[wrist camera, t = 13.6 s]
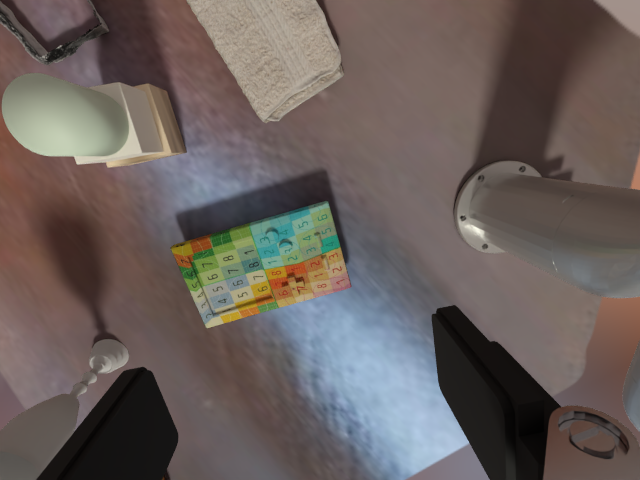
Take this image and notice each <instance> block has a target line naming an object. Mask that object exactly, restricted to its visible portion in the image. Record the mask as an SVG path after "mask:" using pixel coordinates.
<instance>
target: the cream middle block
mask: <svg viewBox="0 0 640 480" xmlns="http://www.w3.org/2000/svg"><path fill="white" fill-rule="evenodd" d="M88 88H89V89H92V90H95V91H98V92H101V93H104V94H106V95H108V96H110V97H111V98H113V99H114V100H115V101H116V102H117V103H118V104H119V105H120V106H121V108H122V109H123V110H124V112H125V114H126V117H127V120H128V124H129V134H128V139H127V141H126V143H125V145H124V146H123V147H122V149H121V150H119V151H118V152H116V153H115V154H112V155H109V156H74V158H75V160H76V163H77V164H89V163H102V162H111V161H116V160H122V159H128V158H133V157H139V156H144V155H150V154H155V153H161V152H164V151H163V148H162V144H161V141H160V138H159V135H158V131H157V128H156V125H155V121H154V118H153V115H152V112H151V108H150V105H149V102H148V99H147V95H146V92H145V91H142V90H140V89H137V88H134V87H131V86H129V85H126V84H123V83H121V82H116V83H110V84H105V85H99V86H93V87H88Z"/></svg>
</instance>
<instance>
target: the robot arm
mask: <svg viewBox="0 0 640 480" xmlns="http://www.w3.org/2000/svg"><path fill="white" fill-rule="evenodd" d="M478 177H479V179H478ZM460 217H461V218H460ZM454 220H455V225H456V228H457V230H458V233H459V235H460V236H461V237H462V239H463V240H464V241H465V242H466V243H467V244H469V245H470V246H472V247H473V248H475V249H477V250H479V251H482V252H486V253H503V252H508V253H510V254H512V255H514V256H516V257H518V258H520V259H522V260H524V261H525V262H527V263H529V264H531V265H533V266H535V267H537V268H539V269H541V270H543V271H545V272H547V273H549V274H551V275H553V276H555V277H557V278H559V279H561V280H563V281H565V282H567V283H569V284H571V285H573V286H575V287H577V288H579V289H581V290H583V291H586V292H588V293H591V294H594V295H598V296H602V297H611V298H631V297H639V296H640V190H636V189H628V188H618V187H610V186H603V185H595V184H588V183H580V182H573V181H565V180H558V179H550V178H543V177H542V176H541V175H540V173H539V172H537V171H536V170H535V169H534V168H533V167H531V166H530V165H528V164H525V163H522V162H519V161H498V162H494V163H491V164H489V165H486V166H484V167H482V168H481V169H479V170H478V171H476V172H475V173H474V174H473V175H472V176H471V177H470V178H469V179H468V180H467V181H466V182H465V184H464V185H463V187H462V188H461V190H460V192H459V194H458V197H457V200H456V203H455V209H454ZM432 326H433V335H434V345H435V354H436V364H437V373H438V382H439V386H440V389H441V392H442V394H443V396H444V397H445V399H446V401H447V403H448V405H449V407H450V408H451V410H452V412H453V414H454V416H455V417H456V419H457V421H458V423H459V425H460V426H461V428H462V430H463V432H464V434H465V436H466V437H467V439H468V441H469V443H470V445H471V446H472V448H473V450H474V452H475V454H476V455H477V457H478V459H479V461H480V463H481V464H482V466H483V468H484V470H485V472H486V474H487V475H488V477H489V479H490V480H640V446H639V444H638V441H637V439H636V437H635V436H634V435H633V434H632V432H631V431H630V430H629V429H628V428H627V427H625V426H624V425H623V424H622V423H621V422H619V421H618V420H617V419H615V418H613V417H611V416H609V415H607V414H606V413H603V412H601V411H598V410H595V409H593V408H589V407H583V406H564V407H561V406H560V405H559V404H558V403H557V402H556V401H555V400H554V399H553V398H552V397H551V396H550V395H549V394H548V393H547V392H546V391H545V390H544V389H543V388H542V387H541V386H540V385H539V384H538V383H537V382H536V381H535V380H534V379H533V378H532V377H531V375H530V374H529V373H528V372H527V371H526V370H525V369H524V368H523V367H522V366H521V365H520V364H519V363H518V362H517V361H516V360H515V359H514V358H513V357H512V356H511V355H510V354H509V353H508V352H507V351H506V350H505V349H504V348H503V347H502V346H501V345H500V344H499V343H498V342H495V341H492V342H490V341H489V340H488V339H487V338H486V337H485V336H484V335H483V334H482V333H481V332H480V331H479V330H478V329H477V328H476V326H475V325H474V324H473V323H472V322H471V321H470V320H469V319H468V318H467V317H466V316H465V315H464V314H463V313H462V312H461V310H460V309H459V308H458V307H457V306H455V305H453V306H448V307H443V308H438V309H437V311H436V314H432ZM623 404H624V408H625V411H626V413H627V415H628V417H629V419H630V420H631V422H632V423H633V425H634V426H635V427H636V428H637V429H638V431H639V432H640V341H639V343H638V346H637V349H636V351H635V354H634V357H633V359H632V362H631V365H630V367H629V370H628V373H627V376H626V379H625V383H624V386H623ZM177 443H178V432H177V429H176V427H175V425H174V422H173V420H172V418H171V415H170V413H169V411H168V408H167V406H166V403H165V401H164V399H163V396H162V394H161V392H160V389H159V387H158V385H157V382H156V380H155V377H154V375H153V373H152V372H151V371H149V370H147V369H146V368H145V367H140V368H135V369H130V370H126V371H123V372H122V373H121V375H120V376H119V377H118V378H117V380H116V381H115V382H114V383H113V384H112V386H111V387H110V388H109V389H108V391H107V392H106V393H105V394H104V396H103V397H102V398H101V399H100V401H99V402H98V403H97V404H96V406H95V407H94V408H93V409H92V411H91V412H90V413H89V414H88V416H87V417H86V418H85V419H84V421H83V422H82V423H81V424H80V426H79V427H78V428H77V429H76V431H75V432H74V433H73V434H72V435H71V437H70V438H69V439H68V440H67V442H66V443H65V444H64V445H63V447H62V448H61V449H60V450H59V452H58V453H57V454H56V455H55V457H54V458H53V459H52V460H51V462H50V463H49V464H48V465H47V467H46V468H45V469H44V470H43V472H42V473H41V474H40V475H39V477H38V478H37V479H36V480H162V479H163V477H164V474H165V472H166V470H167V467H168V465H169V463H170V460H171V458H172V456H173V453H174V451H175V449H176V446H177Z"/></svg>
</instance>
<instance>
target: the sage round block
mask: <svg viewBox="0 0 640 480" xmlns="http://www.w3.org/2000/svg"><path fill="white" fill-rule="evenodd" d="M2 113H3V118H4V121H5V123H6V125H7V127H8V129H9V131H10V132H11V134H12V135H13V136H14V138H15V139H16V140H17V141H18V142H19V143H20V144H22V145H23V146H24V147H26V148H27V149H29V150H31V151H33V152H35V153H38V154H41V155H45V156H109V155H112V154H115V153H116V152H118V151H119V150H121V149H122V147H123V146H124V145H125V143H126V141H127V139H128V134H129V124H128V120H127V117H126V114H125V112H124V110H123V109H122V108H121V106H120V105H119V104H118V103H117V102H116V101H115V100H114V99H113V98H111V97H110V96H108V95H106V94H104V93H101V92H98V91H95V90H92V89H89V88H86V87H83V86H80V85H77V84H73V83H70V82H67V81H64V80H61V79H58V78H55V77H52V76H49V75H46V74H40V73H29V74H25V75H22V76H19V77H17V78H16V79H14V80H13V81H12V82H11V83H10V84H9V85H8V87H7V88H6V90H5V92H4V95H3V99H2Z"/></svg>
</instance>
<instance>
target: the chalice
mask: <svg viewBox="0 0 640 480" xmlns="http://www.w3.org/2000/svg"><path fill="white" fill-rule="evenodd" d="M128 357H129V354H128V350H127V349H126V347H125V346H124V345H123V344H122V343H120V342H118V341H116V340H112V339H103V340H100V341H98V342H97V343H95V344H94V346H93V348H92V352H91V355H90V358H89V363H90V366H91V368H92V370H91V371H90V372H86V373H84V374H83V375H82V381H81V382H80V383H76V384H75V385H74V386H73V390H72V392H71V393H70V394H61V395H58V396H55V397H53V398H51V399H48V400H46V401H44V402H41V403H39V404H37V405H35V406H33V407H31V408H30V409H28V410H26V411H24V412H22V413H21V414H19V415H18V416H16V417H15V418H13V419H12V420H11V421H10V422H9V423H8V424H7V425H6V426H5V427H4V428H3V429H2V430H1V431H0V480H36V479H37V478H38V477H39V475H40V474H41V473H42V472H43V470H44V469H45V468H46V467H47V465H48V464H49V463H50V462H51V460H52V459H53V458H54V457H55V455H56V454H57V453H58V452H59V450H60V449H61V448H62V447H63V445H64V444H65V443H66V442H67V440H68V439H69V438H70V437H71V435H72V434H73V432H74V429H75V426H76V422H77V416H78V410H79V405H80V404H79V401H78V399H77V397H78V396H79V395H80V394H82V393H85V392H86V391H87V386H88V384H89V383H94V382H95V381H96V380H97V377H96V376H97V374H98V373H109V372H112V371H113V370H116V369H118V368H120V367H122V366H123V365H125V364H126V362H127V361H128Z"/></svg>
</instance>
